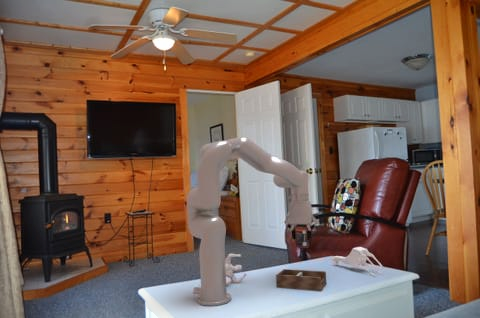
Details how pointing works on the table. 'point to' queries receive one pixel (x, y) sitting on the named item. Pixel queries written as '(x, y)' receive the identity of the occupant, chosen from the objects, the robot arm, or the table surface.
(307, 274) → the brown wooden box
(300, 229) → the supplement bottle
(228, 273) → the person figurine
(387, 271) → the table surface
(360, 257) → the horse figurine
